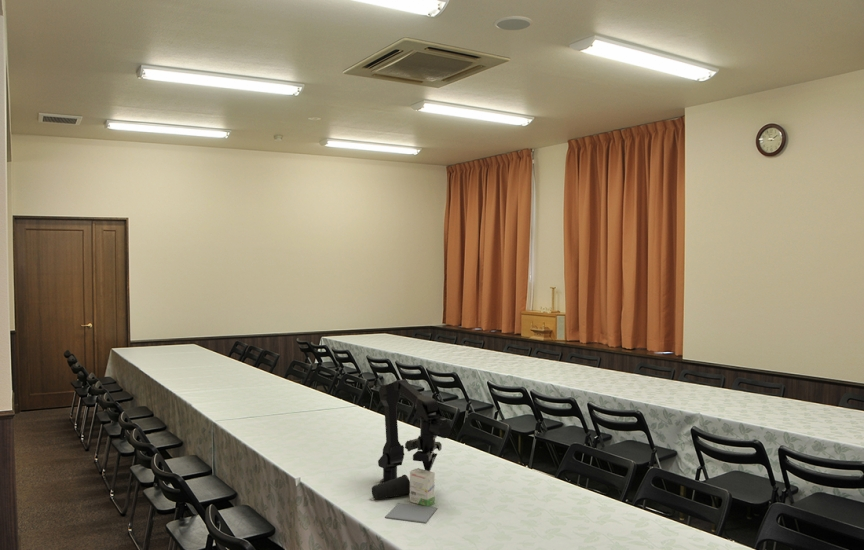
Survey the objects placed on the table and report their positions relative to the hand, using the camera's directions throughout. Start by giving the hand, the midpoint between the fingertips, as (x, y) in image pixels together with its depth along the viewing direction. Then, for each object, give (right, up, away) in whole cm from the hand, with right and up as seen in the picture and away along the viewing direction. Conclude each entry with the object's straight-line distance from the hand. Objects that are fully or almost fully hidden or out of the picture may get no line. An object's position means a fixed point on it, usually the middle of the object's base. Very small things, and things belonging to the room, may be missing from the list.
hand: (427, 473), depth 242 cm
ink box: (-2, -9, -5) cm, 11 cm away
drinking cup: (-20, -6, -3) cm, 21 cm away
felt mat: (-5, -9, -16) cm, 19 cm away
